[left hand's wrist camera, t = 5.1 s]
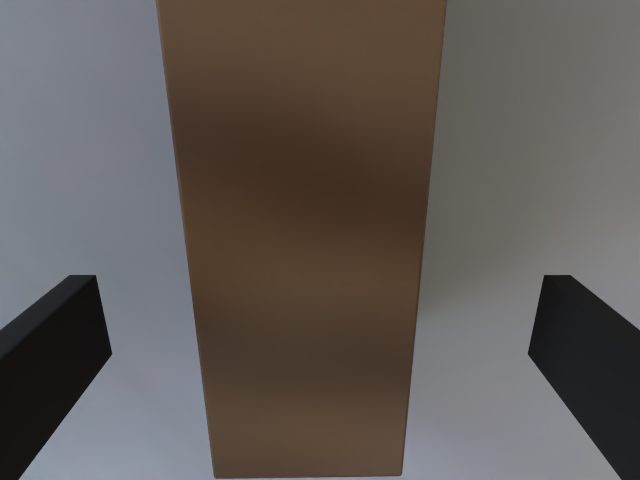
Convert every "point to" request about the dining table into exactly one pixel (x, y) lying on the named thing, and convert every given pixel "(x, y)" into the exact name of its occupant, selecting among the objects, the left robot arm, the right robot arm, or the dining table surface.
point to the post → (304, 221)
